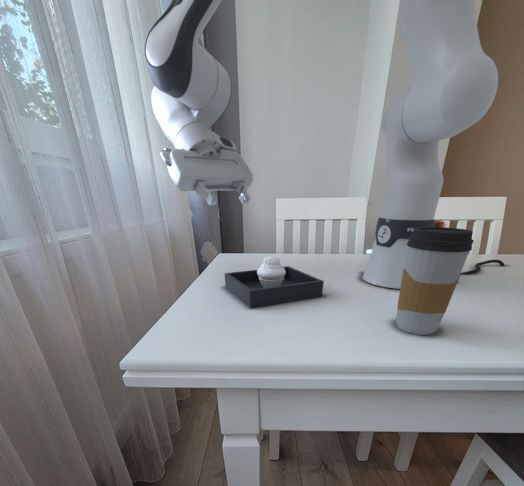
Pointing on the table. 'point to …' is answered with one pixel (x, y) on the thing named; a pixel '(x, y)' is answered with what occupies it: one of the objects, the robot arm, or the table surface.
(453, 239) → the coffee cup
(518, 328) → the table surface
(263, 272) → the muffin
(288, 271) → the tray
